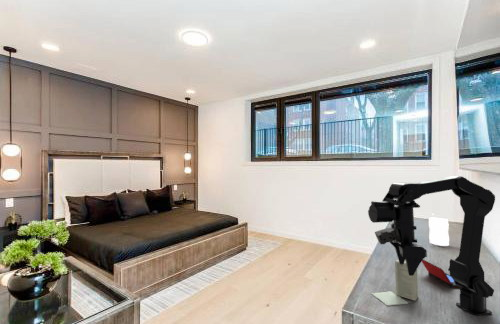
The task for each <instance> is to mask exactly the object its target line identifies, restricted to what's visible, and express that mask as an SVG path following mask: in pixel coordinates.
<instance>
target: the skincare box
mask: <svg viewBox="0 0 500 324" xmlns="http://www.w3.org/2000/svg"><path fill="white" fill-rule="evenodd" d="M394 268H395V269H394V271H395V277H394V278H395V294H396V295H397V296H399V297H400V298H405V299H409V300H412V301H416V300H417V299H418V298H419V292H418V289H419V288H418V283H419V282H418V269H417V270H416V271H415V273H414V275H413V276H410V275H409V274H408V270H407V265H406V261H404V264H400V263H399V260H398V258H397V259H396V260H394Z"/></svg>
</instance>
